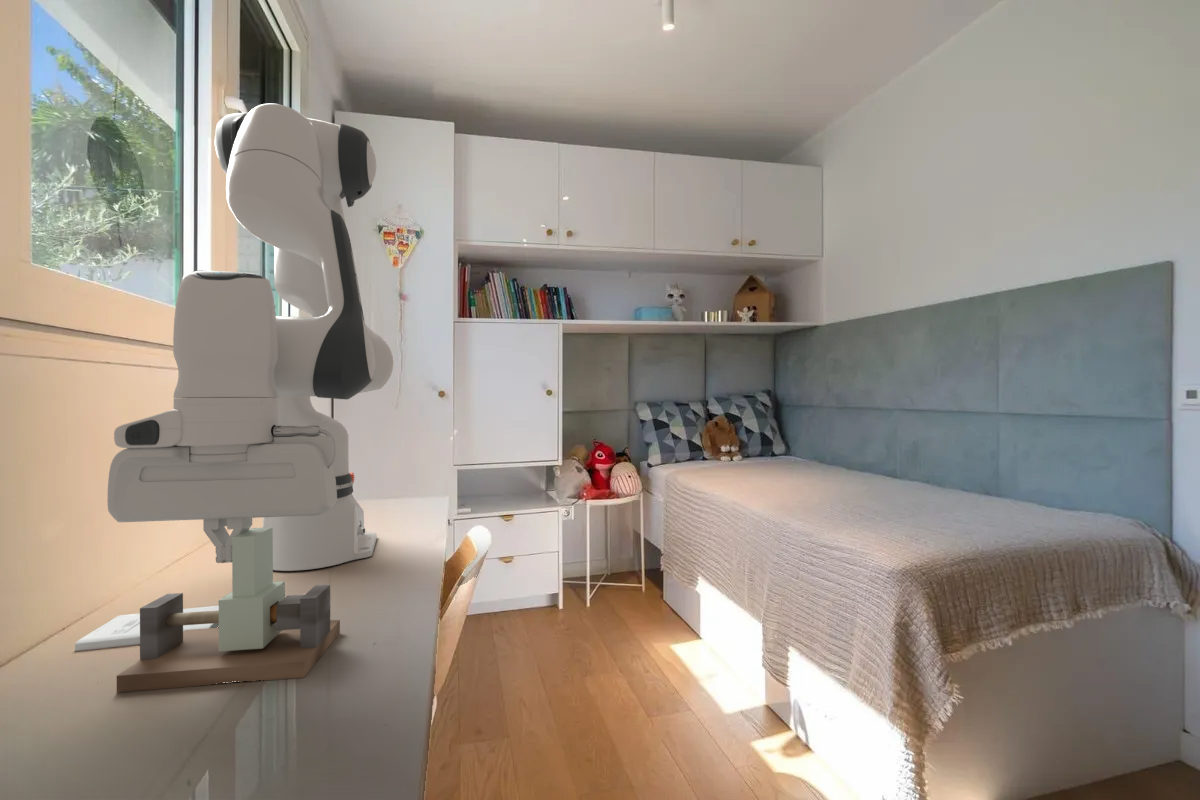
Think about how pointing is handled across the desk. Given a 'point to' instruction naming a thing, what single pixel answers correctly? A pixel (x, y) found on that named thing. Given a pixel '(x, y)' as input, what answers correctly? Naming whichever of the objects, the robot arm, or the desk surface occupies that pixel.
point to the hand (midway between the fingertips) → (229, 561)
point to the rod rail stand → (199, 661)
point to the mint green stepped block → (250, 593)
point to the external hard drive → (128, 631)
